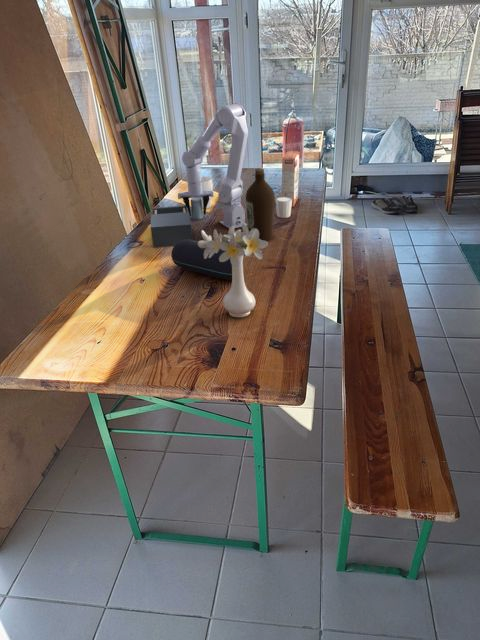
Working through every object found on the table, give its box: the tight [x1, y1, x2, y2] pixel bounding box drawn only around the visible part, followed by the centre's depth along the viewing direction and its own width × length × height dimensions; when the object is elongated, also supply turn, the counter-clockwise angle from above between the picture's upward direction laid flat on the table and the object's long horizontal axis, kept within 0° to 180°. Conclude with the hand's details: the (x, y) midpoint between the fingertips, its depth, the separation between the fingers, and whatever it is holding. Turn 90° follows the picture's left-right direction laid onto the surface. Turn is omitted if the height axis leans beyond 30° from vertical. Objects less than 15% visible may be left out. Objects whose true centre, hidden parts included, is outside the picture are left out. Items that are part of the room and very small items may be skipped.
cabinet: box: [150, 211, 194, 248], centre depth 187 cm, size 15×15×8 cm
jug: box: [190, 197, 204, 221], centre depth 207 cm, size 6×4×8 cm
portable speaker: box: [170, 239, 245, 281], centre depth 160 cm, size 25×10×10 cm, turn 59°
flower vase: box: [198, 224, 269, 318], centre depth 134 cm, size 13×18×25 cm
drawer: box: [152, 205, 188, 214], centre depth 197 cm, size 15×13×6 cm
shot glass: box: [275, 196, 292, 219], centre depth 208 cm, size 7×7×7 cm
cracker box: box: [281, 150, 301, 208], centre depth 218 cm, size 14×6×21 cm, turn 168°
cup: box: [198, 176, 214, 210], centre depth 218 cm, size 9×9×12 cm
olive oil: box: [245, 168, 276, 242], centre depth 182 cm, size 11×11×25 cm
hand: (197, 214), depth 208 cm, fingers open, 5 cm apart
